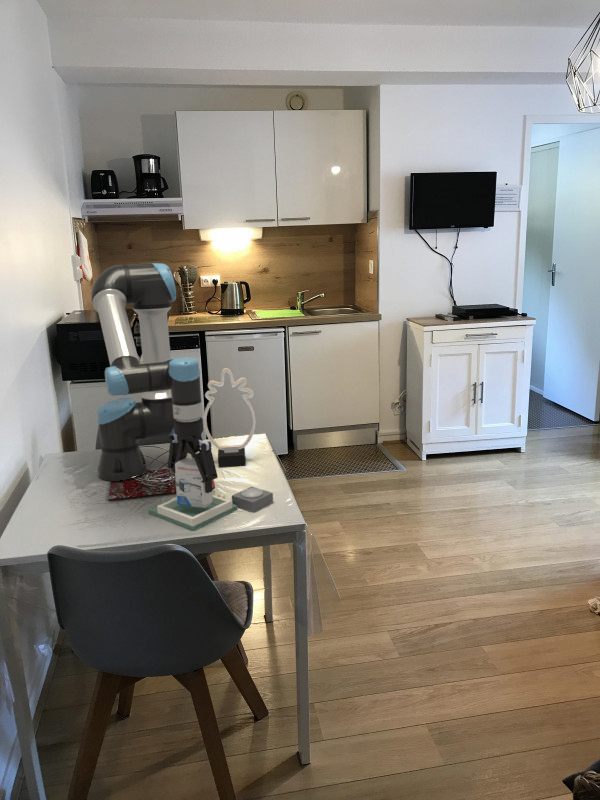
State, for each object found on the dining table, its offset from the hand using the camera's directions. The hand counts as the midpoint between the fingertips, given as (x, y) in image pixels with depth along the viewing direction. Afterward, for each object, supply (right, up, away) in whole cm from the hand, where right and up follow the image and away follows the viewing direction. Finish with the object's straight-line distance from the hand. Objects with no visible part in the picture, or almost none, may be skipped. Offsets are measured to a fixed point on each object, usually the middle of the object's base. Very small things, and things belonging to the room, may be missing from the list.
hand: (194, 498), depth 173 cm
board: (-1, -4, +3) cm, 5 cm away
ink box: (0, -1, +1) cm, 2 cm away
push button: (+15, -3, +7) cm, 17 cm away
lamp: (+6, +6, +40) cm, 41 cm away
